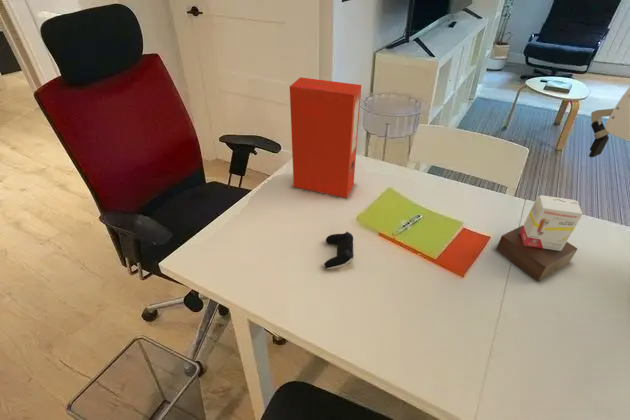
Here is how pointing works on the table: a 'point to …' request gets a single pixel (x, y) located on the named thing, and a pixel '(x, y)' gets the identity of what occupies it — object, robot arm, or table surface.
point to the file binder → (324, 134)
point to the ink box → (550, 222)
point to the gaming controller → (341, 250)
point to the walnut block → (533, 255)
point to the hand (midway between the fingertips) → (618, 166)
